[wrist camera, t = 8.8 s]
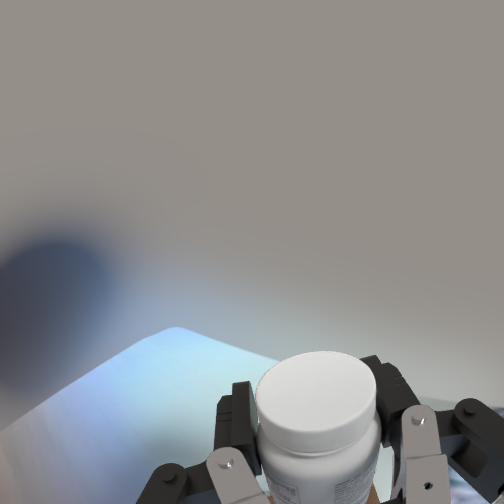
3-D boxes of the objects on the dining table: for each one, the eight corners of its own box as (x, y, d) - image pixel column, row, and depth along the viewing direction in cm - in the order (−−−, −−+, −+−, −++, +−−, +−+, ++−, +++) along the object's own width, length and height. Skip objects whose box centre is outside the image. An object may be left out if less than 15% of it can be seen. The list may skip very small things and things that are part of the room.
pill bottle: (363, 455, 13) (374, 336, 11) (371, 526, 9) (405, 427, 6) (278, 463, 14) (252, 349, 12) (270, 534, 10) (231, 444, 7)
